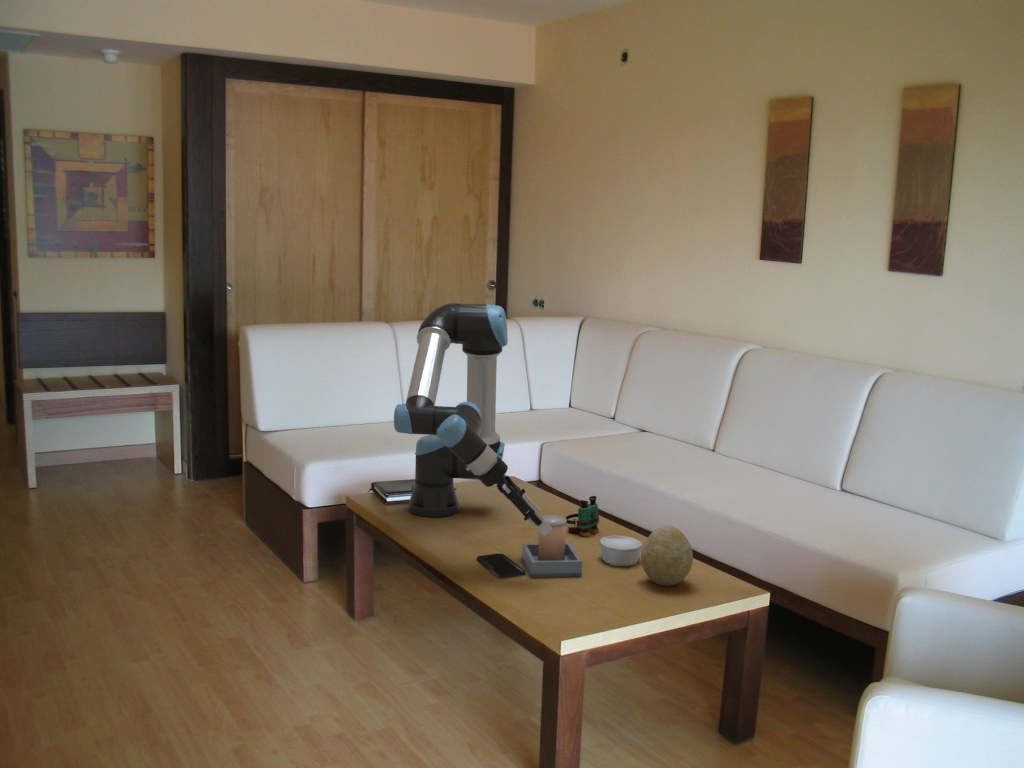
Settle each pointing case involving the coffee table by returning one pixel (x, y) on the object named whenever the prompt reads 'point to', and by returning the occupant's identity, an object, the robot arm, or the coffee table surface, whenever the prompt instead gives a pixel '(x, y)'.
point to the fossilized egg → (667, 556)
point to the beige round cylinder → (552, 539)
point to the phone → (501, 566)
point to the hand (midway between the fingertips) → (542, 523)
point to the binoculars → (585, 518)
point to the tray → (552, 563)
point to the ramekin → (620, 550)
